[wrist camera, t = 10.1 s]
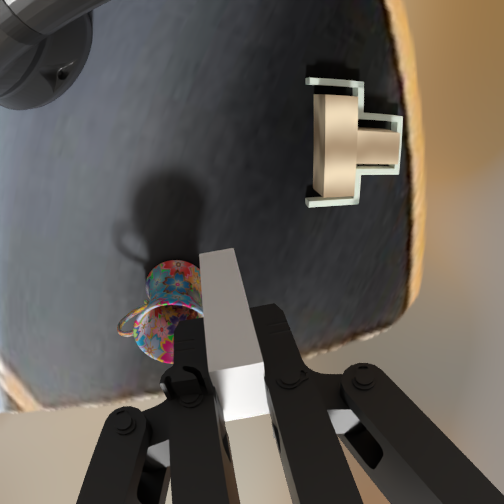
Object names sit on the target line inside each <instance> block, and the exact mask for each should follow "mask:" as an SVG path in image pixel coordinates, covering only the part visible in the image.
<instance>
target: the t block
mask: <svg viewBox="0 0 504 504" xmlns="http://www.w3.org/2000/svg"><path fill="white" fill-rule="evenodd" d="M399 146H400V133H398V132H394V131H391V130H387V129H382V128H365V127H358V97H355V96H342V95H323V94H314V162H313V189H314V190H316V191H317V192H318V193H319V194H320V195H321V196H322V197H323V198H327V197H347V196H354V191H355V177H356V164H398V159H399Z"/></svg>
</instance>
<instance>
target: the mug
mask: <svg viewBox="0 0 504 504" xmlns="http://www.w3.org/2000/svg"><path fill="white" fill-rule="evenodd" d="M146 292H147V295H148V297H149V299H150V300H149V301H148V300H145V301H144V302H145V304H144V305H142V306H140V307H138V308H136V309H134V310H133V311H131V312H130V313H128V314H127V315H126V316H125V317H124V318H123V319H122V320H121V321H120V322H119V324H118V326H117V331H118V333H119V334H120V335H121V336H124V337H130V336H134V338H135V341H136V343H137V344H138V346H139V347H140V349H141V350H142V351H143V352H145V353H146V354H147V355H148V356H150V357H152V358H154V359H156V360H158V361H161V362H165V363H171V364H173V356H174V330H175V328H176V327H177V325H178V323H179V321H183V320H189V319H195V318H201V317H204V316H203V306H202V290H201V275H200V269H199V268H197V267H196V266H195V265H193V264H191V263H189V262H186V261H181V260H170V261H166V262H163V263H161V264H159V265H157V266H156V267H155V268H153V269H152V271H151V272H150V273H149V275H148V277H147V280H146ZM138 313H140V314H139V315H138V316H137V318H136V320H135V323H134V327H133V330H131V331H121V328H122V327H123V325H124V324H125V323H126V322H127V321H128V320H129V319H130V318H132V317H133V316H135V315H136V314H138Z"/></svg>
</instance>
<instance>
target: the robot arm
mask: <svg viewBox="0 0 504 504" xmlns="http://www.w3.org/2000/svg"><path fill="white" fill-rule="evenodd" d="M108 1H110V0H0V105H1V106H3V107H5V108H8V109H13V110H27V109H33V108H38V107H41V106H44V105H46V104H48V103H50V102H52V101H54V100H55V99H57V98H58V97H60V96H61V95H62V94H63V93H64V92H65V91H66V90H67V89H68V88H69V87H70V86H71V85H72V84H73V83H74V81H75V80H76V79H77V77H78V76H79V74H80V73H81V71H82V69H83V67H84V65H85V63H86V61H87V58H88V55H89V52H90V48H91V42H92V26H91V21H90V18H89V16H88V12H89V11H91V10H93V9H95V8H97V7H99V6H101V5H103V4H104V3H106V2H108ZM199 259H200V275H201V290H202V304H203V316H204V317H201V318H195V319H189V320H183V321H179V323H178V325H177V327H176V328H175V330H174V356H173V366H172V367H171V368H169V369H167V370H166V371H165V373H164V374H163V375H162V377H161V380H160V386H161V388H162V389H163V391H164V393H165V395H166V397H167V399H166V400H165V401H164V402H162V403H161V404H159V405H157V406H155V407H153V408H150V409H147V410H145V411H142V412H141V411H140V410H139V409H138V408H135V407H131V406H129V407H128V406H127V407H121V408H118V409H116V410H114V411H113V412H112V413H111V414H110V415H109V416H108V418H107V419H106V421H105V424H104V426H103V429H102V431H101V434H100V437H99V439H98V442H97V445H96V447H95V450H94V453H93V456H92V458H91V461H90V464H89V467H88V470H87V473H86V475H85V478H84V482H83V485H82V487H81V490H80V494H79V496H78V500H77V503H76V504H165V501H166V496H167V491H168V487H169V482H170V477H171V491H172V504H240V500H239V494H238V489H237V484H236V478H235V473H234V468H233V461H232V455H231V450H230V443H229V437H228V434H227V431H226V427H225V421H231V420H237V419H242V418H248V417H253V416H259V415H264V414H269V413H270V416H271V419H272V427H273V435H274V438H275V439H276V443H277V447H278V450H279V454H280V458H281V462H282V466H283V469H284V473H285V477H286V481H287V484H288V488H289V492H290V495H291V499H292V503H293V504H363V502H362V499H361V496H360V493H359V491H358V488H357V486H356V483H355V481H354V478H353V475H352V473H351V471H350V468H349V465H348V463H347V460H346V457H345V455H344V452H343V450H342V447H341V445H340V443H339V440H338V437H339V438H340V439H341V441H342V442H343V443H344V444H345V446H346V447H347V448H348V450H349V451H350V453H351V454H352V455H353V456H354V458H355V459H356V460H357V462H358V463H359V464H360V465H361V467H362V468H363V469H364V471H365V472H366V473H367V474H368V476H369V477H370V478H371V480H372V481H373V482H374V483H375V485H377V487H378V488H379V490H380V491H381V492H382V493H383V494H384V496H385V497H386V498H387V500H388V501H389V502H390V503H391V504H504V495H503V494H502V493H501V492H500V491H499V490H498V489H497V488H496V487H495V486H494V485H493V484H492V483H491V482H490V481H489V480H488V479H487V478H486V477H485V476H484V475H483V473H482V472H481V471H480V470H479V469H478V468H477V467H476V466H475V465H474V464H473V463H472V462H471V461H470V460H469V459H468V458H467V457H466V456H465V455H464V454H463V453H462V452H461V451H460V450H459V449H458V448H457V447H456V446H455V444H454V443H453V442H452V441H451V440H450V439H449V438H448V437H447V436H446V435H445V434H444V433H443V432H442V431H441V430H440V429H439V428H438V427H437V426H436V425H435V424H434V423H433V422H432V421H431V420H430V419H429V418H428V417H427V416H426V415H425V414H424V413H423V412H422V411H421V410H420V409H419V408H418V407H417V405H416V404H414V402H413V401H412V400H411V399H410V398H409V397H408V396H407V395H406V394H405V393H404V392H403V391H402V390H401V389H400V388H399V387H398V386H397V385H396V384H395V383H394V382H393V381H392V380H391V379H390V378H389V377H388V376H387V375H386V374H385V373H384V372H383V371H382V370H381V369H380V368H378V367H377V366H375V365H372V364H368V363H357V364H355V365H351V366H350V367H349V368H347V369H346V370H345V371H344V373H343V374H321V373H318V372H315V371H312V370H311V369H309V368H308V367H307V366H306V365H305V364H304V362H303V360H302V358H301V355H300V353H299V350H298V348H297V345H296V343H295V340H294V338H293V335H292V332H291V331H290V327H289V325H288V323H287V320H286V317H285V315H284V312H283V311H282V310H281V309H280V308H279V307H278V306H277V305H275V304H274V303H273V304H268V305H263V306H258V307H253V308H249V306H248V302H247V298H246V295H245V291H244V287H243V283H242V279H241V276H240V272H239V268H238V264H237V260H236V256H235V252H234V248H230V249H225V250H219V251H213V252H208V253H202V254H199ZM224 420H225V421H224ZM337 436H338V437H337Z"/></svg>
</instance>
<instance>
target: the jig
mask: <svg viewBox="0 0 504 504" xmlns="http://www.w3.org/2000/svg"><path fill="white" fill-rule="evenodd" d="M306 85H327V86H342V87H353V96H355V97H358V119H366V120H381V121H392V122H391V131H394V132H398V133H400V146H399V159H398V164H389V166H356V177H355V191H354V196H347V197H327V198H323V197H309V198H305V204H306V205H307V206H308V207H323V206H338V205H354V204H359V195H360V182H361V175H399V167H400V155H401V140H402V122H403V117H402V116H397V115H388V114H377V113H364V82H360V81H351V80H339V79H325V78H306Z"/></svg>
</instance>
